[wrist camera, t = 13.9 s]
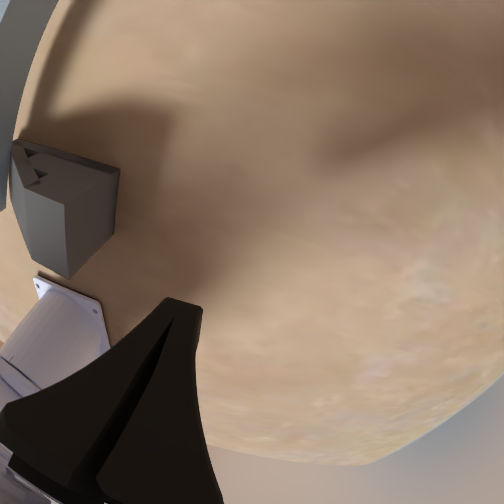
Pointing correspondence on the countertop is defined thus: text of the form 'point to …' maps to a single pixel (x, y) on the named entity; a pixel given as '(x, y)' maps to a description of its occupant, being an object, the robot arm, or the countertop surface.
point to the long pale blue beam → (16, 66)
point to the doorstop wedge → (61, 204)
